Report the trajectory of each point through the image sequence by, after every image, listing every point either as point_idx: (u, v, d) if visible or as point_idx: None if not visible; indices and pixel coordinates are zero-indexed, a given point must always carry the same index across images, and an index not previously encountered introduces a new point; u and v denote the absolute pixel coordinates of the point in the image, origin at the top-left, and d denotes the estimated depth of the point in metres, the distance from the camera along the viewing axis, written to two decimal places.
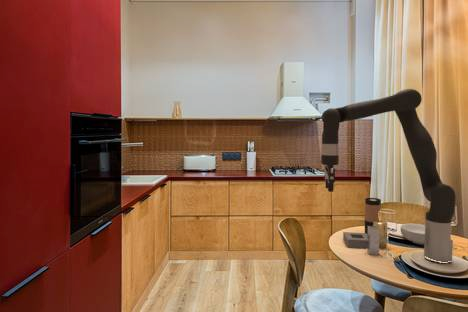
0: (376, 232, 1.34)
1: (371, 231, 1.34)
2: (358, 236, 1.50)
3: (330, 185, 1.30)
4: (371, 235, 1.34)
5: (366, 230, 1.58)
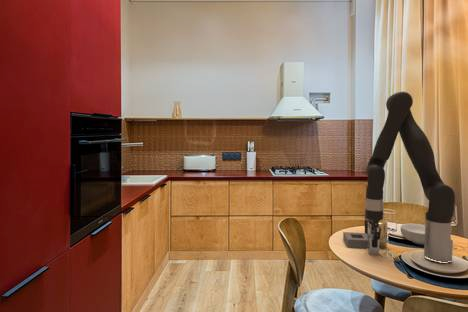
0: None
1: None
2: (358, 236, 1.50)
3: (374, 241, 1.33)
4: (371, 235, 1.34)
5: (366, 230, 1.58)
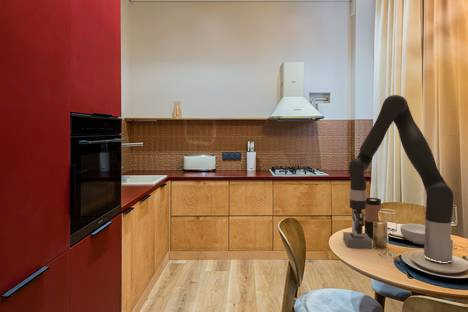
0: None
1: (355, 223, 1.46)
2: None
3: (359, 228, 1.42)
4: (355, 227, 1.46)
5: (366, 230, 1.58)
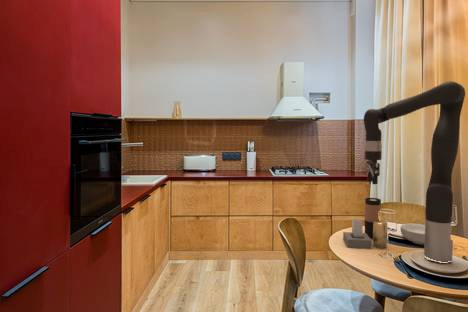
0: (359, 225, 1.45)
1: (355, 223, 1.46)
2: None
3: (374, 178, 1.43)
4: (355, 227, 1.46)
5: (366, 230, 1.58)
